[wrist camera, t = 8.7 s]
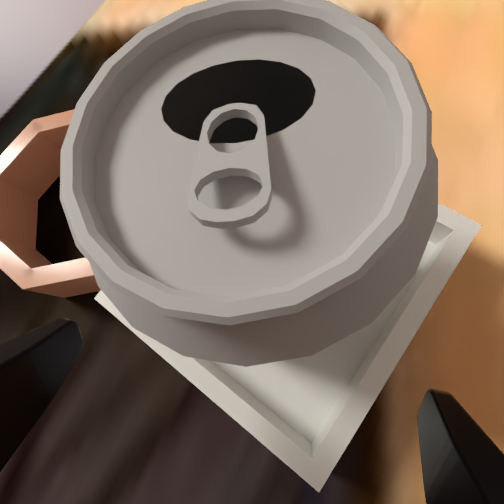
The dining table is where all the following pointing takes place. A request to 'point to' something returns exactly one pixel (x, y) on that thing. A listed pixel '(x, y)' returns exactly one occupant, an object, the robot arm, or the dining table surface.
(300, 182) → the can
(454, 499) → the robot arm
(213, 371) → the tray
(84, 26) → the dining table surface
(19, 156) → the collar
